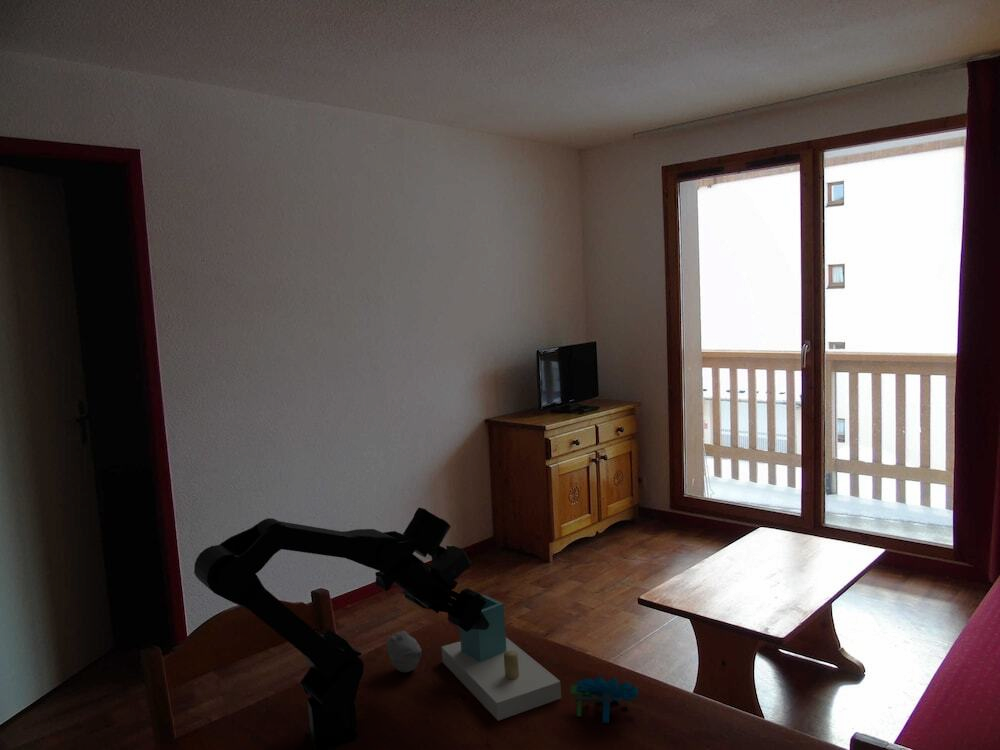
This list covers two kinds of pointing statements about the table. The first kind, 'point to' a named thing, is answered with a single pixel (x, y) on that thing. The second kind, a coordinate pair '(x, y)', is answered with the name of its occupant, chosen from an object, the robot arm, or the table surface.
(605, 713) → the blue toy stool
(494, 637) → the collar
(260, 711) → the table surface
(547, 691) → the board
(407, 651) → the grey rounded lump
